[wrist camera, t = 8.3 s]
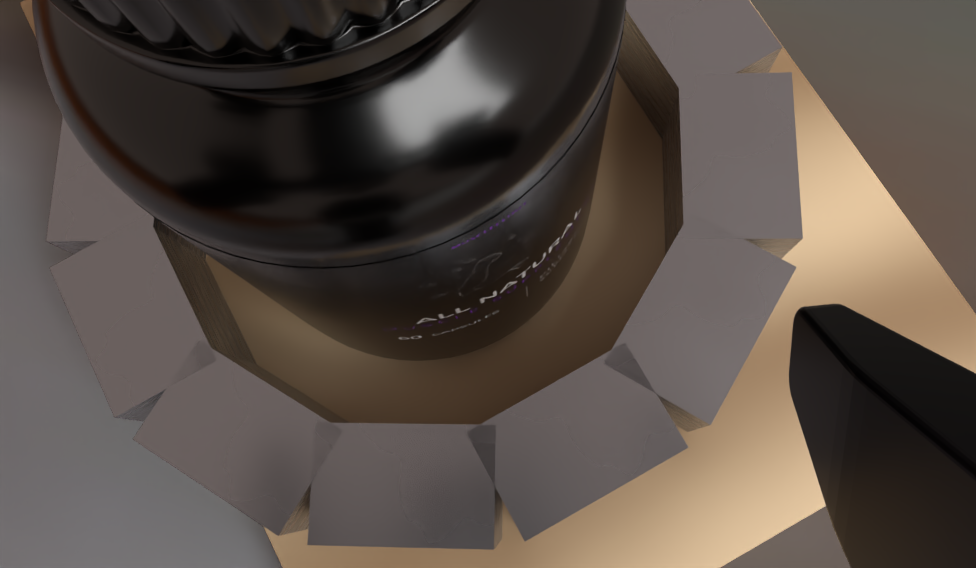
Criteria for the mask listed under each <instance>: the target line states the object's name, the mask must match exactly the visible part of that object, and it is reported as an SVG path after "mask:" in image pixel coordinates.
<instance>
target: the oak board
mask: <svg viewBox="0 0 976 568" xmlns="http://www.w3.org/2000/svg"><path fill="white" fill-rule="evenodd" d="M749 1H750V0H749ZM750 2H751V1H750ZM751 4H752V3H751ZM20 5H21V7H22V9H23V11H24V13H25V15H26V18H27V20H28V22H29V24H30V26H31V28H32V30H33V33H34V35H35V27H34V19H33V11H32V0H25V1H23V2H21V3H20ZM752 5H753V4H752ZM754 8H755V7H754ZM755 9H756V8H755ZM756 11H757V10H756ZM757 12H758V11H757ZM758 13H759V12H758ZM759 15H760V14H759ZM760 16H761V15H760ZM761 18H762V17H761ZM762 19H763V18H762ZM763 20H764V19H763ZM764 22H765V21H764ZM765 23H766V22H765ZM766 25H767V24H766ZM767 26H768V25H767ZM768 27H769V26H768ZM769 29H770V28H769ZM770 30H771V29H770ZM772 33H773V32H772ZM773 34H774V33H773ZM774 36H775V35H774ZM35 37H36V35H35ZM775 37H776V36H775ZM776 38H777V37H776ZM777 40H778V39H777ZM778 41H779V40H778ZM779 43H780V42H779ZM780 44H781V43H780ZM781 45H782V44H781ZM781 72H792V81H793V96H794V112H795V127H796V142H797V157H798V172H799V187H800V202H801V217H802V232H803V239H802V240H801V241H800V242H799V243H798V244H797V245H795V246H794V247H793V248H792V249H791V250H790V251H789V252H788V253H787V254H786V255H785V256H784V257H783V258H782V260H784V261H786V262H788V263H790V264H792V265H794V266H796V269H795V271H794V273H793V275H792V277H791V278H790V280H789V282H788V284H787V286H786V288H785V289H784V291H783V293H782V295H781V297H780V299H779V300H778V302H777V304H776V306H775V308H774V310H773V312H772V313H771V315H770V317H769V319H768V321H767V323H766V324H765V326H764V328H763V330H762V332H761V334H760V335H759V337H758V339H757V341H756V343H755V345H754V346H753V348H752V350H751V352H750V354H749V356H748V357H747V359H746V361H745V363H744V365H743V367H742V368H741V370H740V372H739V374H738V376H737V378H736V379H735V381H734V383H733V385H732V387H731V389H730V391H729V392H728V394H727V396H726V398H725V400H724V402H723V403H722V405H721V407H720V409H719V411H718V413H717V414H716V416H715V418H714V420H713V422H712V424H711V425H709V426H706V427H703V428H699V429H696V430H693V431H690V432H687V431H685V430H683V429H682V428H680V427H678V426H677V425H676V427H677V429H678V430H679V432H680V434H681V435H682V437H683V439H684V440H685V442H686V444H687V445H688V447H689V448H687V449H685V450H683V451H682V452H680V453H678V454H677V455H675V456H673V457H671V458H670V459H668V460H666V461H664V462H663V463H661V464H659V465H657V466H656V467H654V468H652V469H650V470H649V471H647V472H645V473H643V474H642V475H640V476H638V477H637V478H635V479H633V480H631V481H630V482H628V483H626V484H624V485H623V486H621V487H619V488H617V489H616V490H614V491H612V492H610V493H609V494H607V495H605V496H604V497H602V498H600V499H598V500H597V501H595V502H593V503H591V504H590V505H588V506H586V507H584V508H583V509H581V510H579V511H577V512H576V513H574V514H572V515H571V516H569V517H567V518H565V519H564V520H562V521H560V522H558V523H557V524H555V525H553V526H551V527H550V528H548V529H546V530H544V531H543V532H541V533H539V534H538V535H536V536H534V537H532V538H531V539H529V540H527V541H524V539H523V537H522V536H521V534H520V532H519V530H518V528H517V526H516V524H515V523H514V521H513V519H512V517H511V515H510V513H509V511H508V510H507V508H506V506H505V504H504V502H503V524H502V540H501V541H500V542H499V544H498V545H497V546H496V548H495V549H494V550H485V549H444V548H403V547H361V546H320V545H307V543H308V529H307V530H302V531H298V532H294V533H289V534H285V535H280V536H277V535H276V534H274V533H273V532H271V531H270V530H268V529H267V528H265V527H264V529H265V531H266V533H267V535H268V537H269V539H270V541H271V544H272V546H273V548H274V550H275V552H276V554H277V556H278V559H279V561H280V563H281V565H282V567H283V568H720V567H722V566H723V565H725V564H727V563H729V562H730V561H732V560H734V559H735V558H737V557H739V556H741V555H742V554H744V553H746V552H747V551H749V550H751V549H753V548H754V547H756V546H758V545H759V544H761V543H763V542H765V541H766V540H768V539H770V538H771V537H773V536H775V535H776V534H778V533H780V532H782V531H783V530H785V529H787V528H788V527H790V526H792V525H794V524H795V523H797V522H799V521H800V520H802V519H804V518H806V517H807V516H809V515H811V514H812V513H814V512H816V511H818V510H819V509H821V508H823V507H824V506H826V504H825V501H824V498H823V495H822V492H821V489H820V486H819V482H818V479H817V476H816V473H815V470H814V467H813V463H812V460H811V457H810V454H809V451H808V448H807V445H806V441H805V438H804V435H803V432H802V429H801V426H800V422H799V419H798V416H797V413H796V410H795V407H794V404H793V400H792V397H791V393H790V387H789V364H790V352H791V341H792V329H793V320H794V317H795V314H796V312H797V311H798V310H799V309H800V308H801V307H805V306H815V305H824V304H834V303H836V304H842V305H844V306H846V307H848V308H850V309H852V310H854V311H856V312H858V313H860V314H862V315H864V316H866V317H868V318H869V319H871V320H873V321H875V322H877V323H879V324H881V325H883V326H885V327H887V328H889V329H891V330H893V331H895V332H897V333H899V334H900V335H902V336H904V337H906V338H908V339H910V340H912V341H914V342H916V343H918V344H920V345H922V346H924V347H926V348H928V349H930V350H932V351H933V352H935V353H937V354H939V355H941V356H943V357H945V358H947V359H949V360H951V361H953V362H955V363H957V364H959V365H961V366H963V367H964V368H966V369H968V370H970V371H972V372H974V373H976V314H975V313H974V311H973V310H972V308H971V307H970V306H969V304H968V303H967V301H966V300H965V299H964V297H963V296H962V294H961V293H960V292H959V290H958V289H957V288H956V286H955V285H954V283H953V282H952V281H951V279H950V278H949V276H948V275H947V274H946V272H945V271H944V269H943V268H942V267H941V265H940V264H939V263H938V261H937V260H936V258H935V257H934V256H933V254H932V253H931V251H930V250H929V249H928V247H927V246H926V244H925V243H924V242H923V240H922V239H921V238H920V236H919V235H918V233H917V232H916V231H915V229H914V228H913V226H912V225H911V224H910V222H909V221H908V219H907V218H906V217H905V215H904V214H903V213H902V211H901V210H900V208H899V207H898V206H897V204H896V203H895V201H894V200H893V199H892V197H891V196H890V194H889V193H888V192H887V190H886V189H885V188H884V186H883V185H882V183H881V182H880V181H879V179H878V178H877V176H876V175H875V174H874V172H873V171H872V169H871V168H870V167H869V165H868V164H867V163H866V161H865V160H864V158H863V157H862V156H861V154H860V153H859V151H858V150H857V149H856V147H855V146H854V144H853V143H852V142H851V140H850V139H849V138H848V136H847V135H846V133H845V132H844V131H843V129H842V128H841V126H840V125H839V124H838V122H837V121H836V119H835V118H834V117H833V115H832V114H831V112H830V111H829V110H828V108H827V107H826V106H825V104H824V103H823V101H822V100H821V99H820V97H819V96H818V94H817V93H816V92H815V90H814V89H813V87H812V86H811V85H810V83H809V82H808V81H807V79H806V78H805V76H804V75H803V74H802V72H801V71H800V69H799V68H798V67H797V65H796V64H795V62H794V61H793V60H792V58H791V57H790V56H789V54H788V53H787V51H786V50H785V49H784V47H783V46H782V49H781V51H780V52H779V54H778V56H777V58H776V60H775V62H774V64H773V65H772V67H771V69H770V71H769V73H781ZM664 257H665V224H664V191H663V157H662V139H661V137H660V136H659V134H658V133H657V131H656V130H655V128H654V127H653V125H652V123H651V122H650V120H649V119H648V117H647V116H646V114H645V113H644V111H643V110H642V108H641V107H640V105H639V104H638V102H637V101H636V99H635V98H634V96H633V95H632V93H631V92H630V90H629V88H628V87H627V85H626V84H625V82H624V81H623V79H622V78H621V76H620V75H619V73H618V72H617V70H616V76H615V81H614V86H613V92H612V97H611V102H610V108H609V113H608V119H607V124H606V129H605V135H604V140H603V146H602V151H601V156H600V162H599V167H598V173H597V178H596V183H595V189H594V194H593V200H592V205H591V210H590V214H589V218H588V222H587V226H586V230H585V234H584V238H583V241H582V243H581V246H580V249H579V252H578V254H577V256H576V259H575V261H574V263H573V265H572V267H571V269H570V271H569V272H568V274H567V276H566V278H565V279H564V281H563V283H562V284H561V286H560V287H559V288H558V290H557V291H556V292H555V294H554V295H553V296H552V298H551V299H550V300H549V301H548V302H547V303H546V304H545V305H544V306H543V308H542V309H541V310H540V311H539V312H538V313H536V314H535V315H534V316H533V317H532V318H531V319H530V320H529V321H527V322H526V323H525V324H523V325H522V326H521V327H519V328H518V329H517V330H515V331H514V332H512V333H511V334H509V335H507V336H506V337H504V338H502V339H501V340H499V341H497V342H495V343H492V344H490V345H488V346H486V347H484V348H481V349H478V350H476V351H473V352H470V353H467V354H463V355H459V356H455V357H451V358H444V359H438V360H425V361H409V360H396V359H389V358H383V357H379V356H375V355H371V354H367V353H364V352H361V351H359V350H356V349H353V348H350V347H348V346H346V345H344V344H342V343H340V342H337V341H335V340H333V339H332V338H330V337H329V336H327V335H325V334H324V333H322V332H320V331H318V330H317V329H315V328H314V327H312V326H310V325H309V324H307V323H306V322H304V321H303V320H301V319H300V318H298V317H297V316H295V315H294V314H293V313H291V312H290V311H288V310H287V309H285V308H284V307H282V306H281V305H280V304H278V303H277V302H275V301H274V300H272V299H271V298H269V297H268V296H266V295H265V294H264V293H262V292H261V291H259V290H258V289H256V288H255V287H253V286H252V285H251V284H249V283H248V282H246V281H245V280H243V279H242V278H240V277H239V276H237V275H236V274H235V273H233V272H232V271H230V270H229V269H227V268H226V267H224V266H223V265H222V264H220V263H219V262H217V261H216V260H214V259H213V258H211V257H210V256H208V255H207V254H206V261H207V263H208V265H209V267H210V269H211V271H212V273H213V275H214V277H215V279H216V281H217V283H218V285H219V287H220V290H221V292H222V294H223V296H224V298H225V300H226V302H227V304H228V306H229V308H230V310H231V312H232V314H233V316H234V318H235V320H236V322H237V324H238V327H239V329H240V331H241V333H242V335H243V337H244V339H245V341H246V343H247V345H248V347H249V349H250V351H251V353H252V355H253V357H254V359H255V361H256V363H257V365H258V366H260V367H262V368H263V369H265V370H266V371H268V372H270V373H271V374H273V375H274V376H276V377H278V378H279V379H281V380H282V381H284V382H286V383H287V384H289V385H290V386H292V387H294V388H295V389H297V390H298V391H300V392H302V393H303V394H305V395H306V396H308V397H310V398H311V399H313V400H314V401H316V402H318V403H319V404H321V405H322V406H324V407H326V408H327V409H329V410H330V411H332V412H334V413H335V414H337V415H338V416H340V417H342V418H343V419H345V420H346V421H348V422H350V423H398V424H475V425H480V424H482V423H483V422H485V421H487V420H489V419H490V418H492V417H494V416H496V415H497V414H499V413H501V412H503V411H505V410H506V409H508V408H510V407H512V406H513V405H515V404H517V403H519V402H520V401H522V400H524V399H526V398H527V397H529V396H531V395H533V394H535V393H536V392H538V391H540V390H542V389H543V388H545V387H547V386H549V385H550V384H552V383H554V382H556V381H557V380H559V379H561V378H563V377H564V376H566V375H568V374H570V373H572V372H573V371H575V370H577V369H579V368H580V367H582V366H584V365H586V364H587V363H589V362H591V361H593V360H594V359H596V358H598V357H600V356H602V355H603V354H605V353H607V352H609V351H610V350H612V348H613V346H614V345H615V343H616V341H617V339H618V338H619V336H620V334H621V332H622V331H623V329H624V327H625V325H626V324H627V322H628V320H629V318H630V317H631V315H632V313H633V311H634V310H635V308H636V306H637V304H638V303H639V301H640V299H641V297H642V296H643V294H644V292H645V290H646V289H647V287H648V285H649V283H650V282H651V280H652V278H653V277H654V275H655V273H656V271H657V270H658V268H659V266H660V264H661V263H662V261H663V259H664Z"/></svg>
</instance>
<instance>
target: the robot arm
mask: <svg viewBox="0 0 976 568" xmlns="http://www.w3.org/2000/svg"><path fill="white" fill-rule="evenodd" d="M789 387H790V393H791V397H792V400H793V404H794V407H795V410H796V413H797V416H798V419H799V422H800V426H801V429H802V432H803V435H804V438H805V441H806V445H807V448H808V451H809V454H810V457H811V460H812V463H813V467H814V470H815V473H816V476H817V479H818V482H819V486H820V489H821V492H822V495H823V498H824V501H825V504H826V507H827V510H828V513H829V516H830V519H831V522H832V525H833V528H834V530H835V532H836V535H837V537H838V540H839V542H840V544H841V547H842V549H843V551H844V554H845V556H846V558H847V560H848V562H849V564H850V567H851V568H976V373H974V372H972V371H970V370H968V369H966V368H964V367H963V366H961V365H959V364H957V363H955V362H953V361H951V360H949V359H947V358H945V357H943V356H941V355H939V354H937V353H935V352H933V351H932V350H930V349H928V348H926V347H924V346H922V345H920V344H918V343H916V342H914V341H912V340H910V339H908V338H906V337H904V336H902V335H900V334H899V333H897V332H895V331H893V330H891V329H889V328H887V327H885V326H883V325H881V324H879V323H877V322H875V321H873V320H871V319H869V318H868V317H866V316H864V315H862V314H860V313H858V312H856V311H854V310H852V309H850V308H848V307H846V306H844V305H842V304H836V303H834V304H824V305H815V306H805V307H801V308H800V309H799V310H798V311H797V312H796V314H795V317H794V320H793V329H792V341H791V352H790V364H789Z"/></svg>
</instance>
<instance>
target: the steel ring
mask: <svg viewBox="0 0 976 568" xmlns="http://www.w3.org/2000/svg"><path fill="white" fill-rule="evenodd" d="M781 49H782V45H781V44H780V43H779V41H778V40H777V38H776V37H775V36H774V34H773V33H772V31H771V30H770V29H769V27H768V26H767V25H766V23H765V22H764V20H763V19H762V18H761V16H760V15H759V13H758V12H757V11H756V9H755V8H754V6H753V5H752V4H751V2H750V1H749V0H627V2H626V14H625V21H624V29H623V36H622V43H621V48H620V54H619V59H618V65H617V72H618V73H619V75H620V76H621V78H622V79H623V81H624V82H625V84H626V85H627V87H628V88H629V90H630V92H631V93H632V95H633V96H634V98H635V99H636V101H637V102H638V104H639V105H640V107H641V108H642V110H643V111H644V113H645V114H646V116H647V117H648V119H649V120H650V122H651V123H652V125H653V127H654V128H655V130H656V131H657V133H658V134H659V136H660V137H661V139H662V157H663V191H664V224H665V257H664V259H663V261H662V263H661V264H660V266H659V268H658V270H657V271H656V273H655V275H654V277H653V278H652V280H651V282H650V283H649V285H648V287H647V289H646V290H645V292H644V294H643V296H642V297H641V299H640V301H639V303H638V304H637V306H636V308H635V310H634V311H633V313H632V315H631V317H630V318H629V320H628V322H627V324H626V325H625V327H624V329H623V331H622V332H621V334H620V336H619V338H618V339H617V341H616V343H615V345H614V346H613V348H612V350H610V351H609V352H607V353H605V354H603V355H602V356H600V357H598V358H596V359H594V360H593V361H591V362H589V363H587V364H586V365H584V366H582V367H580V368H579V369H577V370H575V371H573V372H572V373H570V374H568V375H566V376H564V377H563V378H561V379H559V380H557V381H556V382H554V383H552V384H550V385H549V386H547V387H545V388H543V389H542V390H540V391H538V392H536V393H535V394H533V395H531V396H529V397H527V398H526V399H524V400H522V401H520V402H519V403H517V404H515V405H513V406H512V407H510V408H508V409H506V410H505V411H503V412H501V413H499V414H497V415H496V416H494V417H492V418H490V419H489V420H487V421H485V422H483V423H482V424H480V425H475V424H398V423H350V422H348V421H346V420H345V419H343V418H342V417H340V416H338V415H337V414H335V413H334V412H332V411H330V410H329V409H327V408H326V407H324V406H322V405H321V404H319V403H318V402H316V401H314V400H313V399H311V398H310V397H308V396H306V395H305V394H303V393H302V392H300V391H298V390H297V389H295V388H294V387H292V386H290V385H289V384H287V383H286V382H284V381H282V380H281V379H279V378H278V377H276V376H274V375H273V374H271V373H270V372H268V371H266V370H265V369H263V368H262V367H260V366H258V365H257V363H256V361H255V359H254V357H253V355H252V353H251V351H250V349H249V347H248V345H247V343H246V341H245V339H244V337H243V335H242V333H241V331H240V329H239V327H238V324H237V322H236V320H235V318H234V316H233V314H232V312H231V310H230V308H229V306H228V304H227V302H226V300H225V298H224V296H223V294H222V292H221V290H220V287H219V285H218V283H217V281H216V279H215V277H214V275H213V273H212V271H211V269H210V267H209V265H208V263H207V261H206V253H204V252H203V251H201V250H200V249H198V248H197V247H195V246H194V245H193V244H191V243H190V242H188V241H187V240H185V239H184V238H182V237H181V236H180V235H178V234H177V233H175V232H174V231H172V230H171V229H169V228H168V227H167V226H165V225H164V224H162V223H161V222H160V221H158V220H157V219H156V218H154V217H153V216H152V215H151V214H149V213H148V212H147V211H145V210H144V209H143V208H141V207H140V206H139V205H138V204H136V203H135V202H134V201H133V200H132V199H131V198H129V197H128V196H127V195H126V194H125V193H124V192H123V191H122V190H121V189H120V188H119V187H117V186H116V185H115V184H114V183H113V182H112V181H111V180H110V179H109V178H108V177H107V176H106V175H105V174H104V173H103V172H102V171H101V170H100V169H99V168H98V166H97V165H96V164H95V163H94V162H93V160H92V159H91V158H90V157H89V156H88V154H87V153H86V152H85V151H84V149H83V148H82V146H81V145H80V143H79V142H78V140H77V139H76V137H75V136H74V134H73V133H72V131H71V130H70V128H69V126H68V125H67V123H66V121H65V119H64V117H63V118H62V125H61V133H60V140H59V147H58V155H57V162H56V169H55V177H54V184H53V192H52V199H51V206H50V214H49V221H48V229H47V236H46V241H47V242H49V243H51V244H53V245H55V246H57V247H60V248H62V249H64V250H66V251H68V252H70V253H73V254H74V255H72V256H70V257H68V258H66V259H65V260H63V261H61V262H59V263H57V264H55V265H53V266H52V267H50V271H51V273H52V275H53V277H54V280H55V282H56V284H57V287H58V289H59V291H60V293H61V296H62V298H63V300H64V303H65V305H66V307H67V310H68V312H69V314H70V316H71V319H72V321H73V323H74V326H75V328H76V330H77V332H78V335H79V337H80V339H81V342H82V344H83V346H84V349H85V351H86V353H87V355H88V358H89V360H90V362H91V365H92V367H93V369H94V371H95V374H96V376H97V378H98V381H99V383H100V385H101V388H102V390H103V392H104V394H105V397H106V399H107V401H108V404H109V406H110V408H111V410H112V413H113V415H114V417H116V418H123V419H131V420H139V421H144V423H143V424H142V426H141V427H140V429H139V430H138V432H137V433H136V435H135V436H134V438H133V440H135V441H136V442H138V443H139V444H141V445H142V446H144V447H145V448H147V449H148V450H150V451H151V452H153V453H154V454H156V455H157V456H159V457H160V458H162V459H163V460H165V461H166V462H168V463H169V464H171V465H172V466H174V467H175V468H177V469H178V470H180V471H181V472H183V473H184V474H186V475H187V476H189V477H190V478H192V479H193V480H195V481H196V482H198V483H199V484H201V485H202V486H204V487H205V488H207V489H208V490H210V491H211V492H213V493H214V494H216V495H217V496H219V497H220V498H222V499H223V500H225V501H226V502H228V503H229V504H231V505H232V506H234V507H235V508H237V509H238V510H240V511H241V512H243V513H244V514H246V515H247V516H249V517H250V518H252V519H253V520H255V521H256V522H258V523H259V524H261V525H262V526H264V527H265V528H267V529H268V530H270V531H271V532H273V533H274V534H276V535H277V536H280V535H285V534H289V533H294V532H298V531H302V530H307V529H308V543H307V545H320V546H361V547H403V548H444V549H485V550H494V549H495V548H496V546H497V545H498V544H499V542H500V541H501V540H502V524H503V502H504V504H505V506H506V508H507V510H508V511H509V513H510V515H511V517H512V519H513V521H514V523H515V524H516V526H517V528H518V530H519V532H520V534H521V536H522V537H523V539H524V541H527V540H529V539H531V538H532V537H534V536H536V535H538V534H539V533H541V532H543V531H544V530H546V529H548V528H550V527H551V526H553V525H555V524H557V523H558V522H560V521H562V520H564V519H565V518H567V517H569V516H571V515H572V514H574V513H576V512H577V511H579V510H581V509H583V508H584V507H586V506H588V505H590V504H591V503H593V502H595V501H597V500H598V499H600V498H602V497H604V496H605V495H607V494H609V493H610V492H612V491H614V490H616V489H617V488H619V487H621V486H623V485H624V484H626V483H628V482H630V481H631V480H633V479H635V478H637V477H638V476H640V475H642V474H643V473H645V472H647V471H649V470H650V469H652V468H654V467H656V466H657V465H659V464H661V463H663V462H664V461H666V460H668V459H670V458H671V457H673V456H675V455H677V454H678V453H680V452H682V451H683V450H685V449H687V448H689V447H688V445H687V444H686V442H685V440H684V439H683V437H682V435H681V434H680V432H679V430H678V429H677V427H676V425H677V426H678V427H680V428H682V429H683V430H685V431H687V432H690V431H693V430H696V429H699V428H703V427H706V426H709V425H711V424H712V422H713V420H714V418H715V416H716V414H717V413H718V411H719V409H720V407H721V405H722V403H723V402H724V400H725V398H726V396H727V394H728V392H729V391H730V389H731V387H732V385H733V383H734V381H735V379H736V378H737V376H738V374H739V372H740V370H741V368H742V367H743V365H744V363H745V361H746V359H747V357H748V356H749V354H750V352H751V350H752V348H753V346H754V345H755V343H756V341H757V339H758V337H759V335H760V334H761V332H762V330H763V328H764V326H765V324H766V323H767V321H768V319H769V317H770V315H771V313H772V312H773V310H774V308H775V306H776V304H777V302H778V300H779V299H780V297H781V295H782V293H783V291H784V289H785V288H786V286H787V284H788V282H789V280H790V278H791V277H792V275H793V273H794V271H795V269H796V266H794V265H792V264H790V263H788V262H786V261H784V260H782V258H783V257H784V256H785V255H786V254H787V253H788V252H789V251H790V250H791V249H792V248H793V247H794V246H795V245H797V244H798V243H799V242H800V241H801V240H802V239H803V232H802V217H801V202H800V187H799V172H798V157H797V142H796V127H795V112H794V96H793V81H792V72H781V73H769V71H770V69H771V67H772V65H773V64H774V62H775V60H776V58H777V56H778V54H779V52H780V51H781Z"/></svg>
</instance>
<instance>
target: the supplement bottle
mask: <svg viewBox="0 0 976 568" xmlns="http://www.w3.org/2000/svg"><path fill="white" fill-rule="evenodd" d="M626 2H627V0H32V11H33V19H34V27H35V35H36V40H37V45H38V49H39V53H40V57H41V61H42V66H43V69H44V72H45V75H46V78H47V81H48V83H49V86H50V89H51V92H52V94H53V97H54V99H55V101H56V103H57V105H58V107H59V109H60V111H61V113H62V115H63V117H64V119H65V121H66V123H67V125H68V126H69V128H70V130H71V131H72V133H73V134H74V136H75V137H76V139H77V140H78V142H79V143H80V145H81V146H82V148H83V149H84V151H85V152H86V153H87V154H88V156H89V157H90V158H91V159H92V160H93V162H94V163H95V164H96V165H97V166H98V168H99V169H100V170H101V171H102V172H103V173H104V174H105V175H106V176H107V177H108V178H109V179H110V180H111V181H112V182H113V183H114V184H115V185H116V186H117V187H119V188H120V189H121V190H122V191H123V192H124V193H125V194H126V195H127V196H128V197H129V198H131V199H132V200H133V201H134V202H135V203H136V204H138V205H139V206H140V207H141V208H143V209H144V210H145V211H147V212H148V213H149V214H151V215H152V216H153V217H154V218H156V219H157V220H158V221H160V222H161V223H162V224H164V225H165V226H167V227H168V228H169V229H171V230H172V231H174V232H175V233H177V234H178V235H180V236H181V237H182V238H184V239H185V240H187V241H188V242H190V243H191V244H193V245H194V246H195V247H197V248H198V249H200V250H201V251H203V252H204V253H206V254H207V255H208V256H210V257H211V258H213V259H214V260H216V261H217V262H219V263H220V264H222V265H223V266H224V267H226V268H227V269H229V270H230V271H232V272H233V273H235V274H236V275H237V276H239V277H240V278H242V279H243V280H245V281H246V282H248V283H249V284H251V285H252V286H253V287H255V288H256V289H258V290H259V291H261V292H262V293H264V294H265V295H266V296H268V297H269V298H271V299H272V300H274V301H275V302H277V303H278V304H280V305H281V306H282V307H284V308H285V309H287V310H288V311H290V312H291V313H293V314H294V315H295V316H297V317H298V318H300V319H301V320H303V321H304V322H306V323H307V324H309V325H310V326H312V327H314V328H315V329H317V330H318V331H320V332H322V333H324V334H325V335H327V336H329V337H330V338H332V339H333V340H335V341H337V342H340V343H342V344H344V345H346V346H348V347H350V348H353V349H356V350H359V351H361V352H364V353H367V354H371V355H375V356H379V357H383V358H389V359H396V360H409V361H425V360H438V359H444V358H451V357H455V356H459V355H463V354H467V353H470V352H473V351H476V350H478V349H481V348H484V347H486V346H488V345H490V344H492V343H495V342H497V341H499V340H501V339H502V338H504V337H506V336H507V335H509V334H511V333H512V332H514V331H515V330H517V329H518V328H519V327H521V326H522V325H523V324H525V323H526V322H527V321H529V320H530V319H531V318H532V317H533V316H534V315H535V314H536V313H538V312H539V311H540V310H541V309H542V308H543V306H544V305H545V304H546V303H547V302H548V301H549V300H550V299H551V298H552V296H553V295H554V294H555V292H556V291H557V290H558V288H559V287H560V286H561V284H562V283H563V281H564V279H565V278H566V276H567V274H568V272H569V271H570V269H571V267H572V265H573V263H574V261H575V259H576V256H577V254H578V252H579V249H580V246H581V243H582V241H583V238H584V234H585V230H586V226H587V222H588V218H589V214H590V210H591V205H592V200H593V194H594V189H595V183H596V178H597V173H598V167H599V162H600V156H601V151H602V146H603V140H604V135H605V129H606V124H607V119H608V113H609V108H610V102H611V97H612V92H613V86H614V81H615V76H616V70H617V65H618V59H619V54H620V48H621V43H622V36H623V29H624V21H625V14H626Z"/></svg>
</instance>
